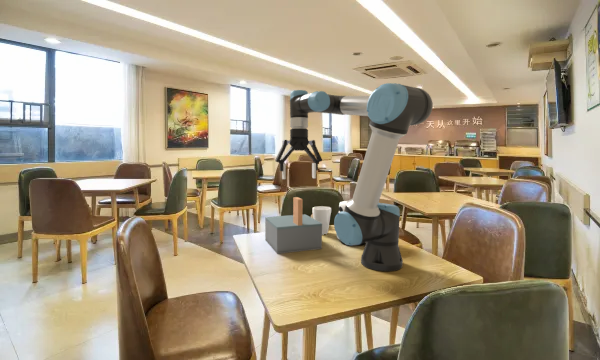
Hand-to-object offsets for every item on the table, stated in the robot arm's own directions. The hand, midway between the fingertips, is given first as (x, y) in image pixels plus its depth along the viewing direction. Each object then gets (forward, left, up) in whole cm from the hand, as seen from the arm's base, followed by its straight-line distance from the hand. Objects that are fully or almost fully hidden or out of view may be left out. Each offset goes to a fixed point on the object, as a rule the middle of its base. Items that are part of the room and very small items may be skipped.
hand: (299, 178), depth 138 cm
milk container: (0, -28, -30) cm, 41 cm away
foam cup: (+18, -19, -30) cm, 40 cm away
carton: (+5, +1, -30) cm, 31 cm away
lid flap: (+5, +1, -20) cm, 21 cm away
